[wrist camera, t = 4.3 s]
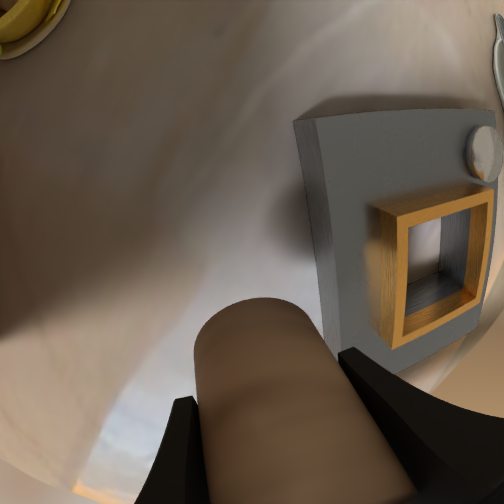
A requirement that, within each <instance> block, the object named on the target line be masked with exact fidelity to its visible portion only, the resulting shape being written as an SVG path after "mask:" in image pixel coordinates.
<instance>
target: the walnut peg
mask: <svg viewBox="0 0 504 504" xmlns="http://www.w3.org/2000/svg"><path fill="white" fill-rule="evenodd" d="M194 366H195V379H196V391H197V402H198V413H199V423H200V432H201V441H202V449H203V457H204V465H205V473H206V480H207V487H208V493H209V500H210V504H410V503H411V502H412V501H413V500H414V499H415V498H416V496H417V495H418V491H417V489H416V487H415V486H414V484H413V483H412V481H411V479H410V478H409V476H408V474H407V473H406V471H405V469H404V468H403V466H402V464H401V463H400V461H399V460H398V458H397V456H396V455H395V453H394V451H393V450H392V448H391V447H390V445H389V443H388V442H387V440H386V438H385V437H384V435H383V434H382V432H381V430H380V429H379V427H378V426H377V424H376V422H375V421H374V419H373V417H372V416H371V414H370V413H369V411H368V409H367V408H366V406H365V405H364V403H363V401H362V400H361V398H360V397H359V395H358V393H357V392H356V390H355V389H354V387H353V386H352V384H351V382H350V381H349V379H348V378H347V376H346V374H345V373H344V371H343V370H342V368H341V366H340V365H339V363H338V362H337V360H336V359H335V357H334V355H333V354H332V352H331V351H330V349H329V348H328V346H327V344H326V343H325V341H324V340H323V338H322V337H321V335H320V333H319V332H318V330H317V329H316V327H315V326H314V324H313V323H312V321H311V319H310V318H309V316H308V315H307V314H306V313H305V312H304V311H303V310H302V309H301V308H299V307H298V306H296V305H295V304H293V303H290V302H288V301H285V300H281V299H277V298H253V299H248V300H243V301H240V302H237V303H234V304H232V305H230V306H228V307H226V308H224V309H222V310H221V311H219V312H218V313H216V314H215V315H214V316H212V317H211V318H210V319H209V320H208V321H207V322H206V323H205V325H204V326H203V327H202V329H201V330H200V332H199V334H198V336H197V338H196V341H195V345H194Z"/></svg>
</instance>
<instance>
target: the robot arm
mask: <svg viewBox="0 0 504 504" xmlns="http://www.w3.org/2000/svg"><path fill="white" fill-rule="evenodd" d="M338 363H339V365H340V366H341V368H342V370H343V371H344V373H345V374H346V376H347V378H348V379H349V381H350V382H351V384H352V386H353V387H354V389H355V390H356V392H357V393H358V395H359V397H360V398H361V400H362V401H363V403H364V405H365V406H366V408H367V409H368V411H369V413H370V414H371V416H372V417H373V419H374V421H375V422H376V424H377V426H378V427H379V429H380V430H381V432H382V434H383V435H384V437H385V438H386V440H387V442H388V443H389V445H390V447H391V448H392V450H393V451H394V453H395V455H396V456H397V458H398V460H399V461H400V463H401V464H402V466H403V468H404V469H405V471H406V473H407V474H408V476H409V478H410V479H411V481H412V483H413V484H414V486H415V487H416V489H417V491H418V495H417V496H416V498H415V499H414V500H413V501H412V502H411V503H410V504H504V418H500V417H495V416H490V415H485V414H481V413H478V412H474V411H471V410H467V409H464V408H461V407H458V406H456V405H453V404H450V403H448V402H445V401H443V400H440V399H438V398H436V397H434V396H432V395H430V394H428V393H426V392H424V391H422V390H420V389H418V388H416V387H414V386H413V385H411V384H409V383H407V382H406V381H404V380H402V379H401V378H399V377H398V376H396V375H394V374H393V373H391V372H390V371H388V370H387V369H385V368H384V367H382V366H381V365H379V364H378V363H376V362H375V361H374V360H372V359H371V358H369V357H368V356H367V355H365V354H364V353H362V352H361V351H360V350H358V349H357V348H355V347H351V348H348V349H346V350H343V351H341V352H338ZM134 504H210V500H209V493H208V487H207V480H206V473H205V465H204V457H203V449H202V441H201V432H200V423H199V413H198V405H197V403H196V401H195V399H194V398H193V396H188V397H183V398H178V399H175V400H174V402H173V406H172V410H171V413H170V417H169V420H168V423H167V427H166V430H165V433H164V436H163V439H162V442H161V445H160V447H159V450H158V453H157V456H156V458H155V461H154V463H153V465H152V468H151V470H150V473H149V475H148V477H147V479H146V482H145V484H144V486H143V488H142V490H141V492H140V494H139V496H138V497H137V499H136V501H135V503H134Z"/></svg>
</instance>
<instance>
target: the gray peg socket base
mask: <svg viewBox="0 0 504 504" xmlns="http://www.w3.org/2000/svg"><path fill="white" fill-rule="evenodd" d="M293 124H294V129H295V134H296V140H297V145H298V150H299V156H300V161H301V167H302V173H303V179H304V185H305V191H306V197H307V203H308V210H309V216H310V223H311V230H312V237H313V244H314V252H315V259H316V267H317V275H318V284H319V292H320V302H321V311H322V321H323V332H324V341H325V343H326V344H327V346H328V348H329V349H330V351H331V352H332V354H333V355H334V357H335V359H336V360H337V362H338V352H341V351H343V350H346V349H348V348H351V347H355V348H357V349H358V350H360V351H361V352H362V353H364V354H365V355H367V356H368V357H369V358H371V359H372V360H374V361H375V362H376V363H378V364H379V365H381V366H382V367H384V368H385V369H387V370H388V371H390V372H391V373H393V374H396V373H398V372H400V371H402V370H404V369H406V368H408V367H410V366H412V365H414V364H416V363H418V362H420V361H421V360H423V359H425V358H427V357H429V356H431V355H432V354H434V353H436V352H438V351H439V350H441V349H443V348H445V347H446V346H448V345H450V344H451V343H453V342H455V341H456V340H458V339H460V338H461V337H463V336H464V335H466V334H468V333H469V332H471V331H472V330H474V329H475V328H477V325H478V321H479V317H480V313H481V309H482V305H483V301H484V296H485V291H486V286H487V281H488V276H489V270H490V264H491V258H492V251H493V243H494V235H495V225H496V212H497V194H498V175H499V173H500V171H501V168H502V164H503V145H502V141H501V138H500V136H499V134H498V132H497V131H496V121H495V112H494V111H492V110H480V109H461V108H428V109H400V110H384V111H371V112H360V113H350V114H341V115H332V116H325V117H317V118H310V119H304V120H297V121H293ZM440 217H441V242H440V258H439V269H438V272H437V273H435V274H432V275H430V276H428V277H426V278H423V279H421V280H419V281H416V282H414V283H411V284H409V285H407V270H408V227H411V226H414V225H418V224H421V223H424V222H427V221H430V220H433V219H437V218H440Z"/></svg>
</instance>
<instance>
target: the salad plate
mask: <svg viewBox="0 0 504 504" xmlns="http://www.w3.org/2000/svg"><path fill="white" fill-rule="evenodd" d="M495 20H496V26H497V39H496V43H495V45H494V60H493V69H494V76H495V81H496V86H497V89H498V92H499V95H500V99H501V102H502V106H503V110H504V19H503V17H502V16H501V15H500V14H496V15H495Z"/></svg>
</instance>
